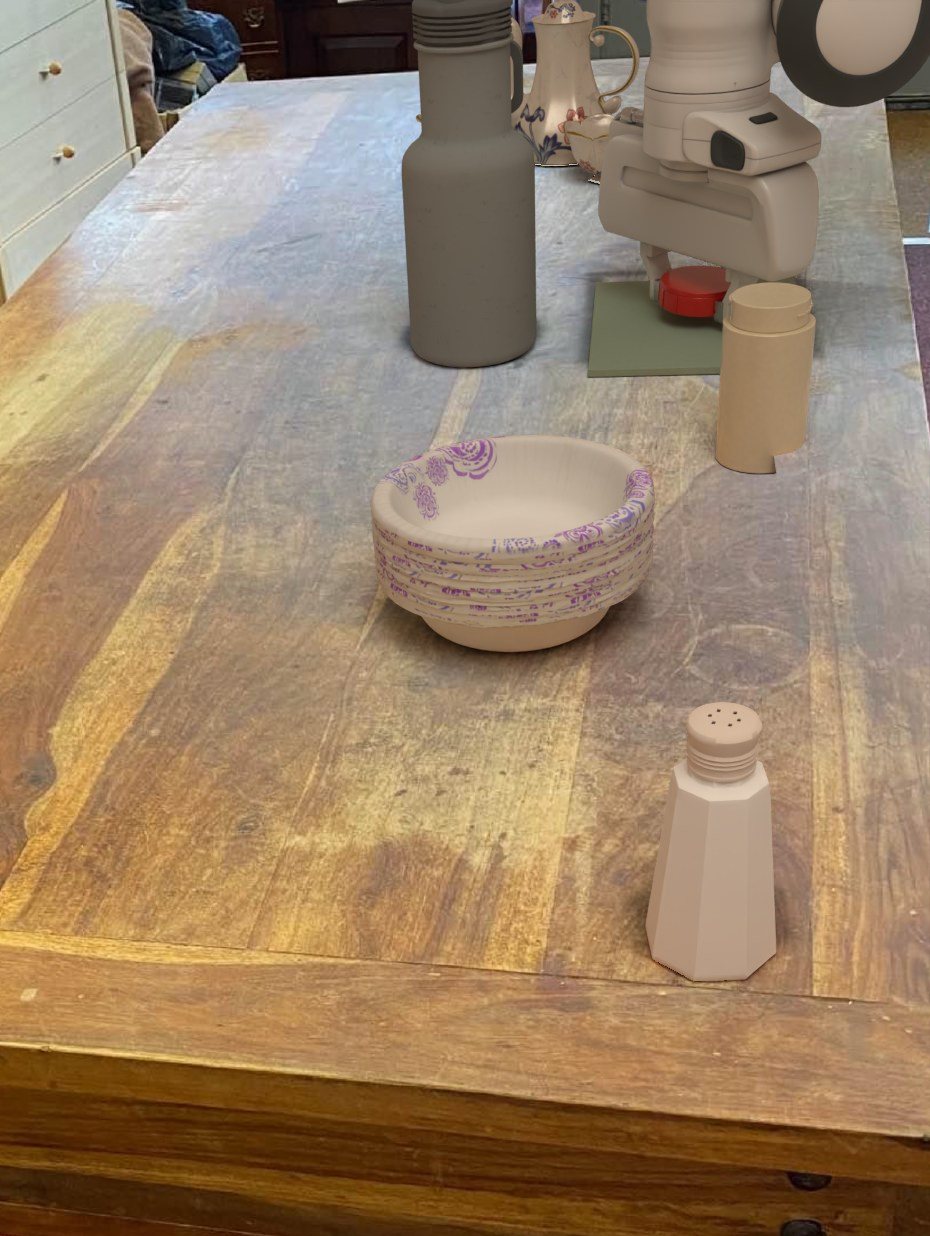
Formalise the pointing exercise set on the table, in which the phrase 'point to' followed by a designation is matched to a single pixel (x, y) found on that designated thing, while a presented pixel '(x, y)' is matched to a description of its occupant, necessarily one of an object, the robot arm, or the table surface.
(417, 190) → the water bottle
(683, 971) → the pepper shaker
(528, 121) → the chinaware
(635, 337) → the mat
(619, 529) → the paper bowls
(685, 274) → the lid
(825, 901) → the table surface
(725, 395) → the jar
